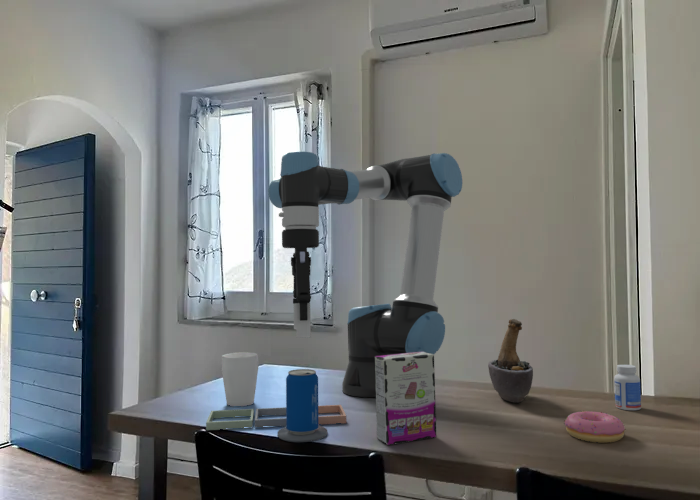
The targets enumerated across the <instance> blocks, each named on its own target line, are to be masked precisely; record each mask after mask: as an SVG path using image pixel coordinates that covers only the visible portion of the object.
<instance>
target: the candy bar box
mask: <svg viewBox="0 0 700 500" xmlns="http://www.w3.org/2000/svg"><path fill="white" fill-rule="evenodd" d="M435 375H436V374H435V354H430V353H427V352H413V353H403V354H393V355H383V356H375V380H376V397H375V407H376V408H375V409H376V411H375V412H376V415H375V416H376V438H377V440H379V441H380V440H381V441H380V442H382V441H383V442H384V444H385V443H386V444H385V445H387V446H391V445H390V444H393V445H396V444H395V443H399V444H403V443H402V442H405V443H409V442H408V441H411V442H414V441H413V440H417V441H420V440H419V439H422V440H427V439H426V438H428V439H433V437H434V438H437V413H436V411H437V410H436V409H437V408H436V406H437V405H436V379H435V378H436V377H435ZM383 442H382V443H383Z"/></svg>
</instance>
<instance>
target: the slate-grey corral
mask: <svg viewBox="0 0 700 500" xmlns="http://www.w3.org/2000/svg"><path fill="white" fill-rule="evenodd" d="M262 415H274V416H286V407H285V406H283V407H265V408H261V407H260V408H256V409H255V413H254V428H255V427H262V428H264V427H263V426H282V427H286V417H281V418H278V417H277V418H261V419H260V418H259V417H263V416H262Z"/></svg>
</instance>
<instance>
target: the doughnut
mask: <svg viewBox="0 0 700 500" xmlns="http://www.w3.org/2000/svg"><path fill="white" fill-rule="evenodd" d="M563 422H564V423H563V424H564V425H565V427H566V428H565V429H566V432H567V434H569V435H570V436H571V437H573V438H575V439H577V438H578V440H580V439H581V440H580V441H584V440H585V442H589V441H590V443H596V442H598V443H600V444H602V443H603V444H606V443H607V442H610V443H616V442H618V441H620V440H622V438H623V437H624V436H625V430H626V428H625V425H624V422H623V421H622V420H621V419H620V418H619V417H616V416H614V415H612V414H609V413H605V412H602V411H601V412H599V411H591V410H590V411H586V410H583V411H582V410H580V411H577V412H573V413H569V414H568V415H567V416H566V418H565V420H564V421H563ZM598 443H597V444H598ZM607 444H608V443H607Z"/></svg>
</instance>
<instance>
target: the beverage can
mask: <svg viewBox="0 0 700 500" xmlns="http://www.w3.org/2000/svg"><path fill="white" fill-rule="evenodd" d="M287 373H288V375H287V376H286V378H285V384H286V385H285V394H286V395H285V400H286V401H285V402H286V403H285V404H286V405H285V406H286V415H285V416H286V417H285V418H286V426H285V427H286V428H287V430H289V431H290V432H291V433H292V434H296V435H307V434H311V433H313V432H315V430H316V429H318V416H319V413H318V406H319V376H318V375H317V371H316V370H314V369H310V368H297V369H292V370H291V369H290V370H288V372H287Z"/></svg>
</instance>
